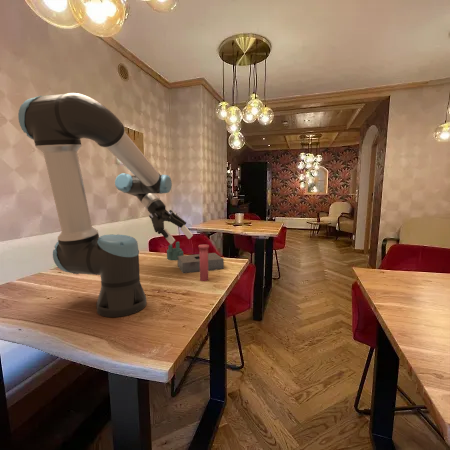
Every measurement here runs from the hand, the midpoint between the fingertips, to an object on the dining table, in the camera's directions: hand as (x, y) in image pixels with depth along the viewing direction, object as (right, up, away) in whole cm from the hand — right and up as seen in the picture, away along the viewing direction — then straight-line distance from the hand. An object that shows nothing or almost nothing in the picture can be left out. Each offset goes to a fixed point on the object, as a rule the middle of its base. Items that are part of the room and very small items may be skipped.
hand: (182, 239), depth 113 cm
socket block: (+6, -15, +16) cm, 23 cm away
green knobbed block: (-10, -13, +34) cm, 37 cm away
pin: (+10, -17, -3) cm, 20 cm away
